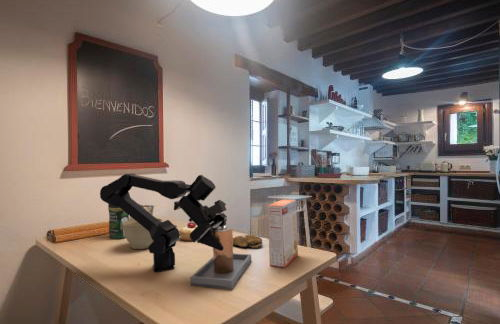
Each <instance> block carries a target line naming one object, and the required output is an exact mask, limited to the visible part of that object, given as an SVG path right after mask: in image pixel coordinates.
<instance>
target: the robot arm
mask: <svg viewBox="0 0 500 324" xmlns="http://www.w3.org/2000/svg"><path fill="white" fill-rule="evenodd" d="M133 187H134V188H138V189H142V190H147V191H151V192H156V193H158V194H160V195H161V196H162V197H164V198H167V199H169V200H175V199H179V198H180V199H179V200H177V201H174V203H173V204H174V205H173V210H174V211H176V210H177V211H178V210H180V209H181V210H182V211H183V212H184V213H185V214H186V215H187V217H188V218H189V219H188V221H189V222H193V223H195V224H196V225H197V227H196V228H195V229H194V230H193V231H192V232H191V233H190V239H191V240H192V241H191V242H193V243H197V244H201V245H205V246H208V247H210V248H212V249H213V248H215V249H217V250H220V251H222V250H223V249H224V248H223V246H222V245H221V243H220V242H219V241H218V239H217V238H216V237H215V235H214V234H213V229H214V228H216V227H218V226H220V227H223V226H224V225H226V226H227V220H228V219H227V218H228V216H227V215H226V213H224V212H225V211H227V207H226V206H227V204H226V203H225V202H224V201H223V200H221V199H218V200H217V201H214V204H213V205H211V206H209V205H203V204H202V203H201V202H200V201H205V200H206V199H207V198H208V197H209V196H210V195H211V194H212V193H213V191H214V190H215V189H216V185H215V183H214V182H213V181H212V180H210V179H209V178H207V177H206V176H204V175H203V174H198V176H197V177H196V178H195V180H194V181H193V182H192V183H191V184H187V183H186V182H185V181H183V180H174V179H173V180H162V179H157V178H152V177H148V176H143V175H138V174H135V173H125V174H122V175H121V176H119V178H117V179H116V180H114V181H111V182H109V183H108V184H107V185H104V186H101V188H100V192H99V197H100V199H101V201H102V202H104V203H106V204H110V205H113V206H116V207H119V208H121V209H122V210H123V211H124V212H126V213H127V214H128V215H129V217H131V218H132V220H133V219H134V220H135V221H137V222H138V223H139V224H140V225H142V226H143V227H144V228H145V229H146V230H148V231H149V232H150V235H151V238H152V240H153V242H152V243H151V244H150V246H149V247H148V248H147V249H148V251H149V254H152V256H153V257H152V262H153V264H152V268H153V272H154V273H158V272H162V271H163V272H164V271H168V270H173V269H175V265H176V255H175V254H176V253H175V251H174V247H176V245H177V242H178V241H179V239H180V238H181V237H180V229H178V228H177V227H178V226H177V225H175V224H173V223H172V222H171V221H170V220H169V219H166V220H164V221H162V222H161V221H159V220H158V219H156V218H157V217H155V216H154V215H153V214H152V213H150V212H149V211H148V210H146V209H145V208H144V207H143V206H142V205H140V204H139V203H138V202H136V201H135V200H134V199H133V198H132V197H131V195H130V192H129V191H131V189H132V188H133ZM186 194H187V195H186Z"/></svg>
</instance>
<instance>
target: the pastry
mask: <svg viewBox="0 0 500 324" xmlns="http://www.w3.org/2000/svg"><path fill="white" fill-rule="evenodd" d="M186 225H187V226H184V227H183V226H182V227H180V229H179V234H180V237H179V238H180V239H181V240H182V241H185V242H193V241H192V240H191V239H190V233H191V232H192V231H193V230H194V229H195V228H196V227H197V225H196V224H195V223H194V222H193V221H192V222H190V221H189V222H188V223H187V224H186Z"/></svg>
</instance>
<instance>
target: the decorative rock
mask: <svg viewBox="0 0 500 324" xmlns="http://www.w3.org/2000/svg"><path fill="white" fill-rule="evenodd" d="M263 244H264V243H263V238H261V237H260V236H257V235H254V234H243V235H238V236H235V237H234V236H233V246H238V247H240V248H246V247H247V248H250V249H255V250H256V249H258V248H260V247H261V246H262V245H263Z"/></svg>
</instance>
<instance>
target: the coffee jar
mask: <svg viewBox="0 0 500 324" xmlns="http://www.w3.org/2000/svg"><path fill="white" fill-rule="evenodd" d="M107 204H108V203H107ZM107 206H108V207H107V209H108V215H109V216H108V217H109V219H108V222H109V223H108V237H109V238H112V239H114V240H119V239H120V240H121V239H126V237H125V235H124V231H123V225H122V223H123V222H125V221H128V220H130V218H129V217H130V216H129V215H128V214H127V213H126V212H124V211H123V210H122V209H121V208H119V207H116V206H113V205H110V204H108V205H107Z"/></svg>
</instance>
